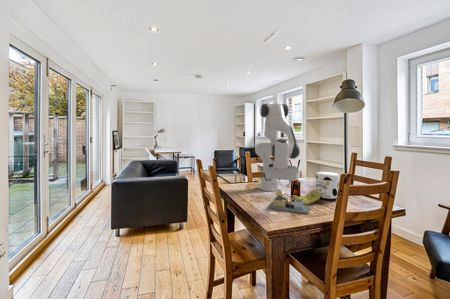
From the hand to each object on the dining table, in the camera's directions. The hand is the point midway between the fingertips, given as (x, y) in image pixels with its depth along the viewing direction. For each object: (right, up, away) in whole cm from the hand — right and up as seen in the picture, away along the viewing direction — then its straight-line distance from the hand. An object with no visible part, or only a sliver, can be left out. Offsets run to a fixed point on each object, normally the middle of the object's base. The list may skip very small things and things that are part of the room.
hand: (280, 186), depth 155 cm
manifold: (+5, -14, -2) cm, 15 cm away
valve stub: (0, -12, +1) cm, 12 cm away
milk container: (+39, -12, +23) cm, 47 cm away
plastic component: (+21, -13, +12) cm, 27 cm away
